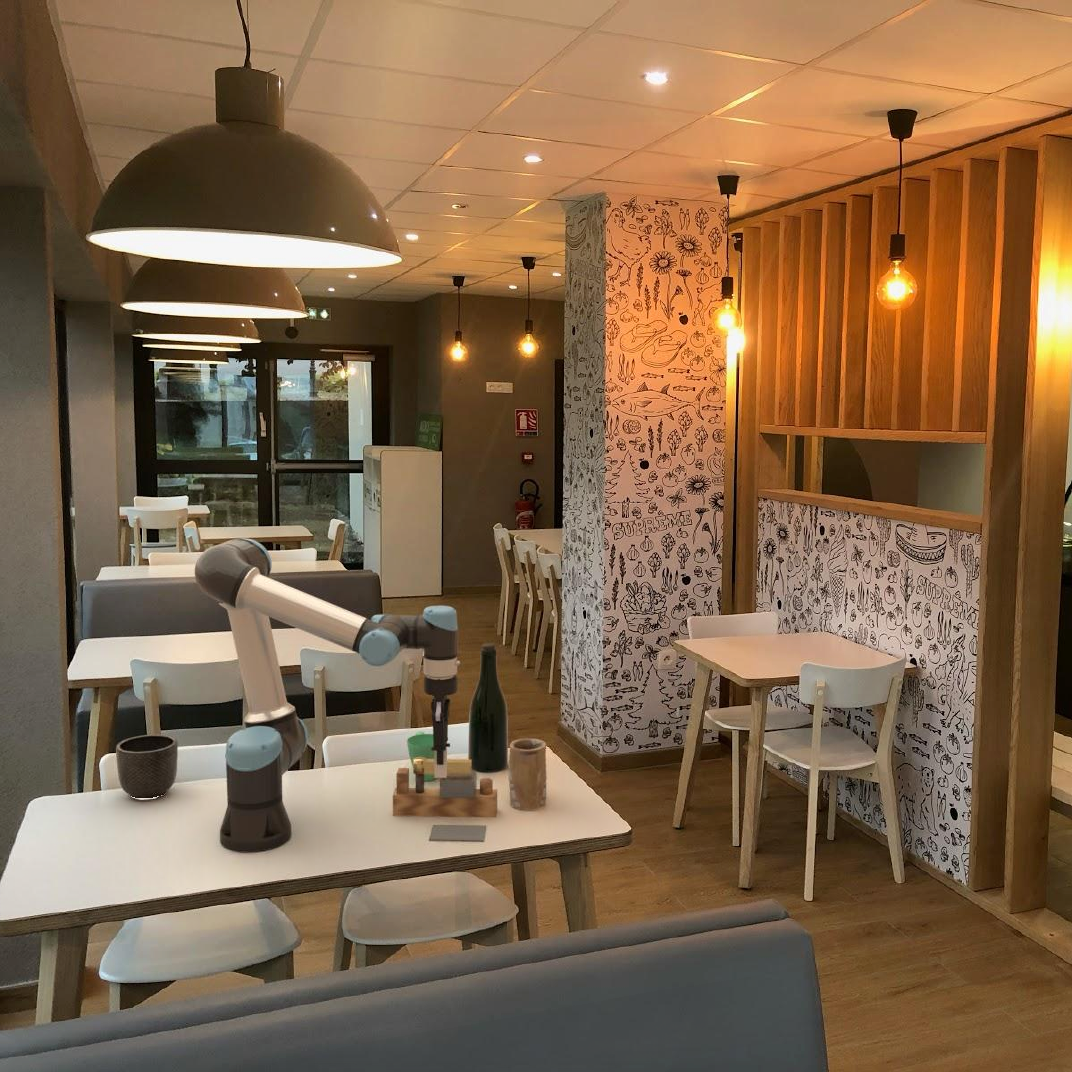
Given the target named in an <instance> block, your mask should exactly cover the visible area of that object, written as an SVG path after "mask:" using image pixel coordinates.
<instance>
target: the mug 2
mask: <svg viewBox="0 0 1072 1072" xmlns="http://www.w3.org/2000/svg"><path fill="white" fill-rule="evenodd" d="M546 751H547V743H546V742H545V741H544V740H541V739H537V738H519V739H516V740H513V741H511V742H510V743H509V753H508V783H509V784H508V786H509V801H510V803H509V804H510V806H511V807H513V808H514V809H517V810H523V811H536V810H540V809H543V808H545V806H546V801H547V779H548V778H547V777H548V776H547V774H548V773H547V760H546V759H547V757H546V753H547V752H546Z"/></svg>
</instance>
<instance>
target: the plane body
mask: <svg viewBox="0 0 1072 1072" xmlns="http://www.w3.org/2000/svg"><path fill="white" fill-rule="evenodd" d="M395 776H396V787H395V789H394V790H393V791H394V792H393V794H392V816H399V817H400V816H401V817H449V818H450V817H452V818H453V817H455V818H456V817H461V818H497V814H498V789H497V788H496V789H495V788H494V789H493V786H494V785H493V783H494V781H493V779H492V778H490V777H483V778H480V779H479V788H476V793H475V798H440V787H437V788H436V787H434V788H433V787H431V788H429V787H425V781H424V774H420V775H418V774H415V787H410V768H408V767H398V769H397V771H396V775H395Z"/></svg>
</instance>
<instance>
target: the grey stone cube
mask: <svg viewBox="0 0 1072 1072" xmlns="http://www.w3.org/2000/svg"><path fill="white" fill-rule="evenodd" d="M477 780H478V779H477V770H472V773H471V775H447V777H446V778H439V788H440V798H475V793H476V789H478V788H477V786H478V785H477V783H478V782H477Z"/></svg>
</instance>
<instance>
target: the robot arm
mask: <svg viewBox="0 0 1072 1072" xmlns="http://www.w3.org/2000/svg"><path fill="white" fill-rule="evenodd" d="M271 571H272V559H271V555H270V553H269V551H268V550H267V548H266V547H265V546H264V545H263V544H261V543H260V542H258V541H256V540H255V539H252V538H251V539H250V538H245V537H244V538H233V539H230V540H228V541H225V542H222V543H219V544H216V545H212V546H210V547H209V548H207V549H206V550H204V551H203V552H201V554H200V555H199V557H198V558H197V560H196V562H195V565H194V577H195V581H196V584H197V586H198V587H199V589H201V591H202V593H204V594H205V595H207V596H208V597H210V598H212V599H214V600H215V601H217V602H218V605H220V606H221V607H222V608H224V609H226V610H227V614H228V618H229V619H228V620H229V624H230V628H231V633H232V638H233V642H234V647H235V652H236V655H237V660H238V665H239V671H240V674H241V680H242V683H243V687H244V692H245V698H246V701H247V707H248V713H247V714H246V716H245V717H244V718H243V721H244V727H245V729H239V730H237V731H236V732H234V733H233V734H231V736H230V737H229V738H228V739H227V742H226V746H225V749H226V750H225V755H224V757H225V764H226V765H225V766H226V767H225V769H226V771H225V772H226V773H225V774H226V796H227V797H226V798H227V799H226V800H227V802H226V803H227V806H226V811H225V813H224V817H223V820H222V822H221V826H220V830H219V842H220V845H221V846H223V848H226V849H227V850H230V851H234V852H247V853H248V852H249V853H250V852H252V853H253V852H262V851H266V850H271V849H274V848H277V847H279V846H281V845H283V844H285V843H286V842H288V841H289V840H290V839H291V837H292V824H291V820H290V817H289V815H288V812H287V808H286V807H285V805H284V801H283V799H284V798H283V776H284V774H285V773H286V772H287V771H288V770H289V769H291V767H292V766H294V765H295V764H296V763H297V762H298V761H299V760H300V759H301V757H302V756H303V754H304V752H305V750H306V749H307V746H308V741H309V739H308V738H309V734H308V729H307V727H306V725H305V723H304V721H303V720H302V719H301V718H299V717H298V716H297V710H296V707H295V706H294V705H292V704H291V703H289V702H288V699H287V697H286V696H287V695H286V690H285V687H284V682H283V677H282V673H281V669H280V664H279V660H278V654H277V648H276V644H275V641H274V640H275V639H274V636H273V635H274V634H273V630H272V626H271V621H270V618H272V619H274V620H276V621H279V622H282V623H283V624H285V625H288V626H291V627H294V628H295V629H299V630H300V631H303V632H305V633H308V634H310V635H313V636H315V637H317V638H319V639H322V640H325V641H328V642H329V643H332V644H334V645H337V646H339V647H342V648H345V649H347V650H349V651H352V652H354V653H357V654H359V655H360V657H361V659H362V661H364V662H365V663H367V665H370V666H373V667H381V666H385V665H387V664H388V663H391V662H392V661H393V660H395V658H396V657H397V656H398V654H399V653H400V652H402V651H403V650H407V649H408V650H423V675H425V676H424V677H423V693H425V694H426V695H429V696H433V698H432V701H431V703H430V710H431V718H432V719H431V720H432V734H433V744H434V747H432V748H431V751H434V778H435V779H436V778H437V779H438V778H439V779H440V778H446V777H447V759H448V748H451V743H450V742H449V738H448V737H449V735H448V732H449V731H448V730H449V716H450V706H451V699H450V698H449V697H448V696H451V695H454V694H456V693H457V692H458V676H457V674H458V666H460V665H461V661H460V660H457V659H458V633H459V632H458V631H459V626H458V616H457V614H458V613H457V610H456V609H455V608H453V607H452V606H449V605H430V606H427V607H425V608H424V610H423V613H422V614H420V615H414V614H413V615H410V614H391V613H385V614H375V615H373V616H372V617H371V618H370V619H368V618H367V617H364V616H363V615H359V614H357V613H355V612H353V611H349V610H348V609H345V608H343V607H340V606H338V605H336V604H333V603H330V602H329V601H326V600H323V599H321V598H319V597H316V596H314V595H312V594H309V593H307V592H305V591H302V590H299V589H296V588H295V587H292V586H289V585H287V584H285V583H282V582H281V581H278V580H275V579H273V578H271V577H269V576H270V574H271ZM448 742H449V743H448Z"/></svg>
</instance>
